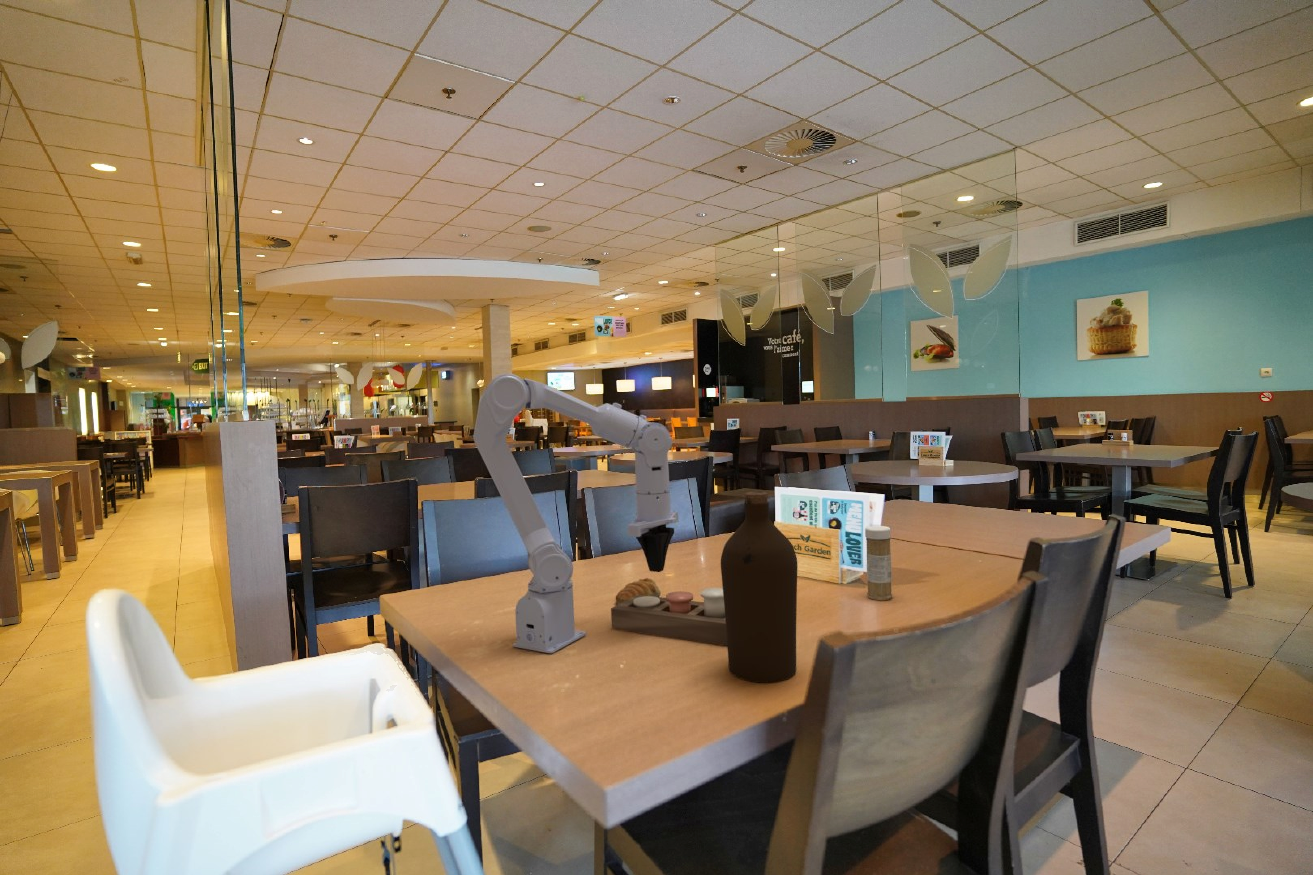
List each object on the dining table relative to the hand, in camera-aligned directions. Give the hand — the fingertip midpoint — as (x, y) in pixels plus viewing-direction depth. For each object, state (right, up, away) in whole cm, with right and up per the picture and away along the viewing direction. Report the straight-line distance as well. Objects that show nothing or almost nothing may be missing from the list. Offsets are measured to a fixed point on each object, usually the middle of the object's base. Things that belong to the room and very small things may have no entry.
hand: (656, 570), depth 113 cm
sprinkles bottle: (+42, -8, +11) cm, 44 cm away
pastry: (-4, -10, +16) cm, 19 cm away
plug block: (+4, -9, -2) cm, 10 cm away
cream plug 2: (+10, -6, -5) cm, 13 cm away
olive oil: (+15, -10, -20) cm, 27 cm away
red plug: (+4, -8, -2) cm, 9 cm away
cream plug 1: (-2, -9, +1) cm, 10 cm away
